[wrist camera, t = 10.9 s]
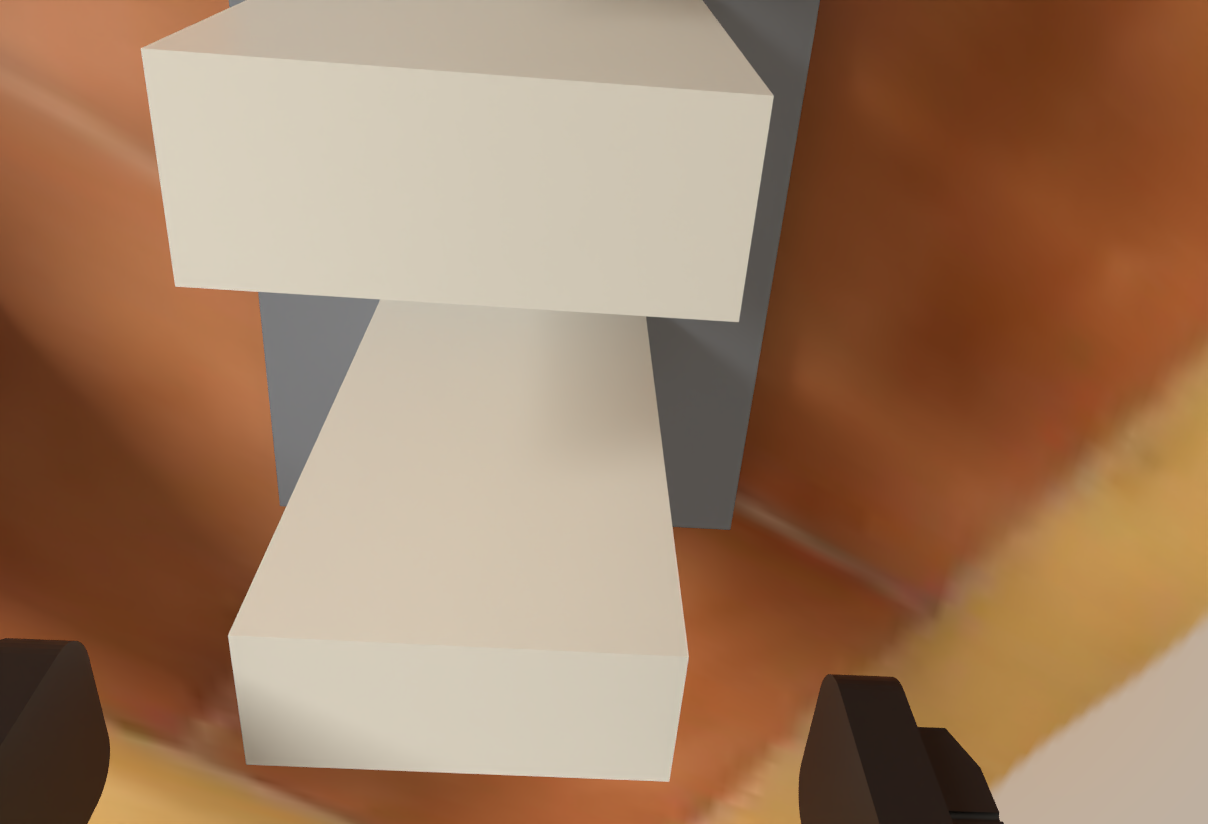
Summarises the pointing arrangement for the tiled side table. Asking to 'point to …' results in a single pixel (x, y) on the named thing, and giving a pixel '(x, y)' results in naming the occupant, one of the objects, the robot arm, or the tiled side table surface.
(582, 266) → the domino
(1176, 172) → the tiled side table surface
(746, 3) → the runway board
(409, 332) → the domino
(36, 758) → the robot arm
